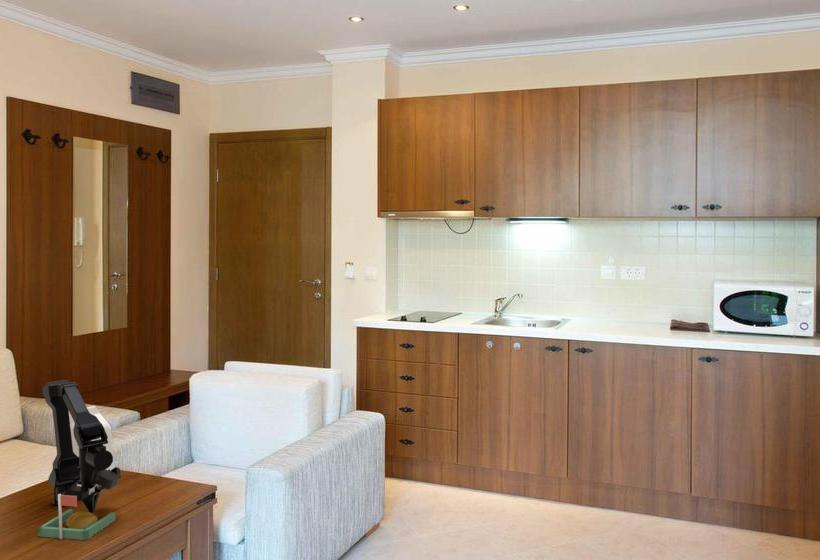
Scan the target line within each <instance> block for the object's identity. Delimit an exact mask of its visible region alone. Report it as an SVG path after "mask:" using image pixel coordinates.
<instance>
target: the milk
mask: <svg viewBox="0 0 820 560" xmlns="http://www.w3.org/2000/svg"><path fill="white" fill-rule="evenodd" d="M86 407H87V409H88V411H89V413H90V414H92V415H94V416H96V417H97V418H98V420H99V421H100V423H102V425H103V427H104V429H105V431H106V434H107V436H108V439H107V441H108V444H103V446H106V450H107V451H109V452H111V454H112V456H113V462H112V464H111V466H110V467H109V468H107V469H105V470H109V469H110V471H111V470H112V469H113V468H115V458H114V447H113V435H112V428H111V424H109V422H108V421H107V420H105V418H104V416H102V414H101V413H100V411H99V410H98V407H97V406H96V405H93V406H92V405H91V406H86ZM74 425H75V423H74V420H73V421H72V422H70V428H71V437H72V446H73V452H74V453H75V454H76V456H77V457H79V446H78V445H77V441H76V439H75V437H74V431H73V429H74ZM99 439H101V437H100V438H99ZM99 439H95V440H99ZM91 441H94V440H91ZM77 486H80V487H81V485H80V484H77Z"/></svg>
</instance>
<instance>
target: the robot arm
mask: <svg viewBox="0 0 820 560" xmlns="http://www.w3.org/2000/svg"><path fill="white" fill-rule="evenodd" d="M78 387H79V386H78V383H77V382H74V381H71V382H69V380H68V379H62V380H56V381H50V382H46V384H45V386H43V387H42V396H43V397H44V399H45V400H44V401H45V403H46V405H48V407H50V409H51V410H52V411H51V412H52V421H53V429H54V438H55V447H56V448H55V449H56V456H55V457H54V460H53V461H52V470H51V472H50V474H49V476H48V478H47V479H48V485H49V486H50V487H52V488H53V501H52V502H50V505H52V506H58V494H61V495H69V496H77V502H79V501H80V502H82V503H83V504H84V506H85V507H86V509H87V511H88V512H90V513H92V514H94V512H95V511H96V506H97V502H98V499H99V497H100V494H101V493H102V491H105V490H111V489H112V488H114V487H116V486H117V484H118V481H119V480H120V479H121V478H122V477H121V469H120V467H117V466H114V468H113V469H112V470H111V471H110V469H109V470H105V469H107V468H109V467H110V466H111V464H112V462H113V456H114V455H113V456H112V454H111V452H109V451H107V450H106V446H103V444H108V441H107V439H108V436H107V434H106V431H105V429H104V427H103V425H102V423H100V421H99V420H98V418H97V417H96V416H94V415H92V414H90V413H89V411H88V409H87V407H88V406H87V405H86V404H85V401H84V399H83V398H82V395H81V393H80V391H79V388H78ZM70 416H71V418H72V420H73V421H74V423H75V425H74V429H73V431H74V437H75V439H76V441H77V445H78V446H79V457H77V456H76V454H75V453H74V452H73V446H72V437H71V428H70V425H71V421H70ZM100 437H101V439H99V438H100ZM95 439H99V440H95ZM91 440H94V441H91ZM77 484H80V485H81V487H78V486H77Z"/></svg>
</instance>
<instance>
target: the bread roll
mask: <svg viewBox="0 0 820 560" xmlns="http://www.w3.org/2000/svg"><path fill="white" fill-rule="evenodd" d="M97 521H99V519H98V517H97V515H95V514H94V513H90V512H89V511H88V510H79V511H76V512H73V514H72V515H71V516H70V517H69V518H68V519H67V521H66V522H65V525H66V528H70V529H84V530H85V529H87V528H88V527H90V526H91V525H93V524H94V523H96V522H97Z"/></svg>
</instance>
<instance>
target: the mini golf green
mask: <svg viewBox="0 0 820 560" xmlns="http://www.w3.org/2000/svg"><path fill="white" fill-rule="evenodd" d="M57 507H58V515H57V516H56V517H54V518H53V519H51V520H48V522H45V523H44V524H42V525H39V527H37V536H38V537H39V538H40V537H41V538H54V539H55V538H56V539H59V540H63V539H64V540H65V539H67V540H68V539H69V540H81V541H82V540H83V541H87V540H89V539H90V538H92V537H93V536H95V535H96V534H98V533H100V532H101V531H102V530H103V528H104V529H105V528H107V527H108V526H109V525H111V524H112V523H114V522H115V521H116V511H115V512H113V511H112V512H109V513H108V514H107V515H105V516H103V517H102V518H100V519H98V521H97V522H96V523H94V524H93V525H91V526H90V527H88V528H87V529H85V530H84V529H70V528H68V527H63V525H64V524H66V521H67V519H68V518H69V517H70V516H71V515H72V514H74V509H72V508H70V509H67V510H66V511H64V512H62V511H63V510H62V507H75V508H76V507H78V501H77V496H69V495H61V494H58V505H57ZM113 521H114V522H113ZM110 523H111V524H110ZM100 530H101V531H100ZM97 532H98V533H97ZM94 534H95V535H94Z"/></svg>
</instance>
